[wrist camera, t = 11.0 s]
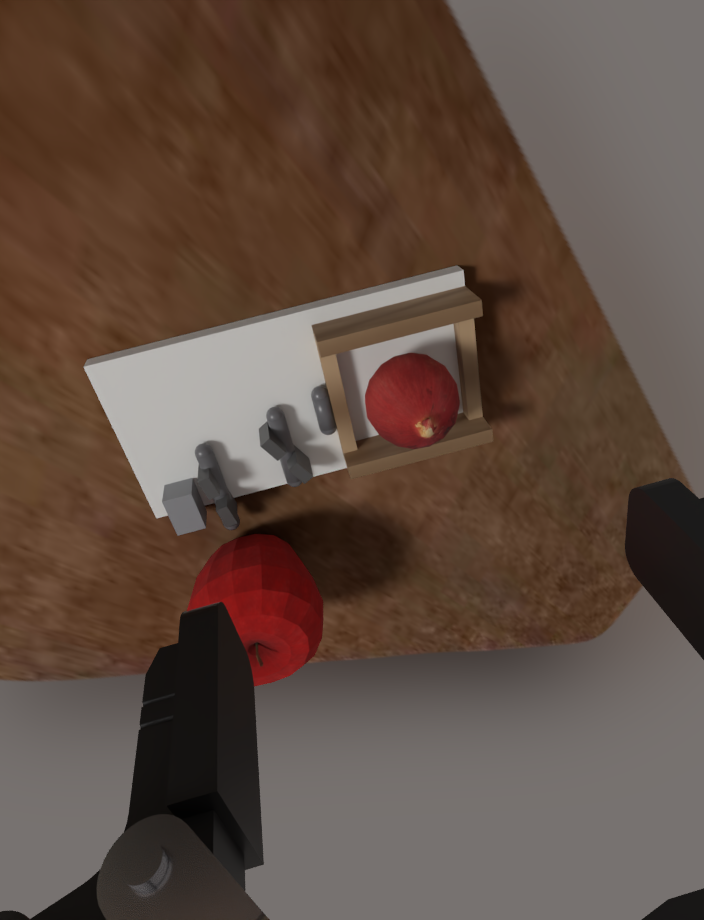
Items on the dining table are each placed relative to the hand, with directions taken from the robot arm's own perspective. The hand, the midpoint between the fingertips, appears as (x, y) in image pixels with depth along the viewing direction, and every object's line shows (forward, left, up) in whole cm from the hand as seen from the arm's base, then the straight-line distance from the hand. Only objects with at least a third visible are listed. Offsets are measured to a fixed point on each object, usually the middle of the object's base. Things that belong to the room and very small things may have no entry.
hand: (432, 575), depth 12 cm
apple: (+23, -9, -30) cm, 38 cm away
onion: (+10, +5, -29) cm, 30 cm away
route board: (+11, -2, -29) cm, 31 cm away
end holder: (+10, +5, -28) cm, 30 cm away
